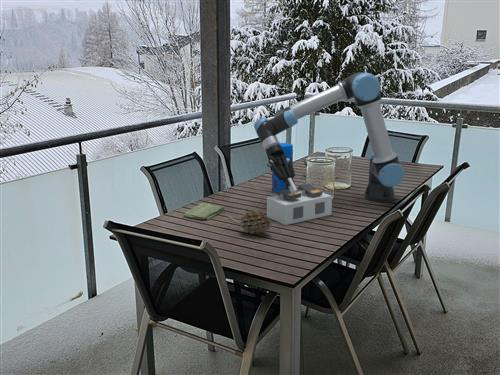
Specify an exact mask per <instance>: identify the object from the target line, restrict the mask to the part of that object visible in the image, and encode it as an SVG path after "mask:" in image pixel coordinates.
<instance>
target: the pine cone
mask: <svg viewBox="0 0 500 375" xmlns="http://www.w3.org/2000/svg"><path fill="white" fill-rule="evenodd" d="M226 217H227V219H228V220H229V221H231V222H232V223H233V222H234V224H237V225H240V226H241V228H242V229H243V232H245V233H249V234H253V235H254V233H256V234H260V233H261V232H262V233H265V232H267V230H269V229H270V228H271V227H272V219H271V218H269V217H268V216H267V215H265V213H264V212H263V211H262V210H258V209H256V210H252V211H249V212H246V213H244V215H242V216H241V218H240V220H237V219H235V218H234V217H232V216H231V215H229V213H227V214H226ZM270 219H271V220H270Z"/></svg>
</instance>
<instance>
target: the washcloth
mask: <svg viewBox="0 0 500 375" xmlns="http://www.w3.org/2000/svg"><path fill="white" fill-rule="evenodd" d="M224 209H225V208H224V206H222V205H218V204H210V203H206V202H201V203H199V204H198V205H196V206H194V207H193V208H190V209H189V210H187V211H186V212H184V213H183V214H182V216H183V217H184V218H188V217H189V219H195V220H196V219H197V220H198V219H199V220H205V221H209V220H211V219H212V218H214V217H216V216H217V215H219V214H221V213H222V212H224Z"/></svg>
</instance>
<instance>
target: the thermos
mask: <svg viewBox="0 0 500 375" xmlns="http://www.w3.org/2000/svg"><path fill="white" fill-rule="evenodd" d="M279 143H280V145H281V147H282V149H283V151H284V155H285V156H286V157H287V158H289V159H290V158H292V164H293V163H294V160H293V159H294V145H293V143H288V142H287V143H286V142H279ZM286 163H287V161H286ZM293 165H294V164H293ZM287 166H288V165H287ZM271 189H272V191H271V192H273V193H274V194H275V193H276V194H277V191H281V190H287V189H288V190H290V189H289V187H287V186H286V184H285V182H283V180H281V181H280V180H279V179H278V177H277V176H276V175H275V173H274V172H273V171H272V170H271Z"/></svg>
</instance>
